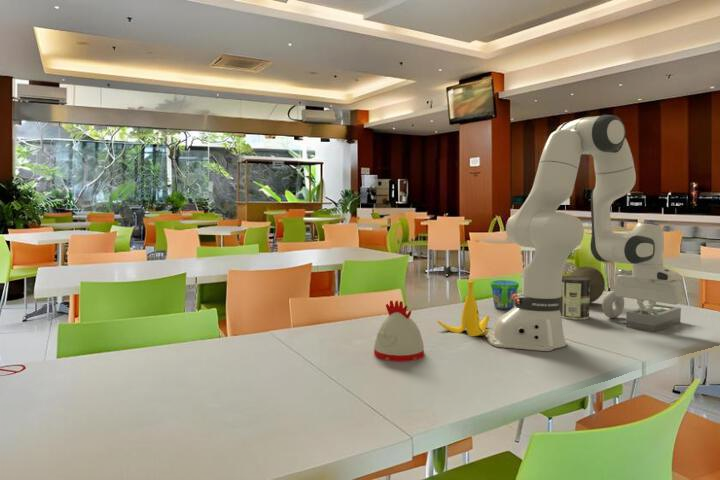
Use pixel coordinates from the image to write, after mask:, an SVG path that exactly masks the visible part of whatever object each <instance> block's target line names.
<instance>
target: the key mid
mask: <svg viewBox="0 0 720 480" xmlns="http://www.w3.org/2000/svg"><path fill="white" fill-rule="evenodd" d="M646 308H649V307H646ZM652 311H655V312H663V308H661V307H653V308H652Z"/></svg>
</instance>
